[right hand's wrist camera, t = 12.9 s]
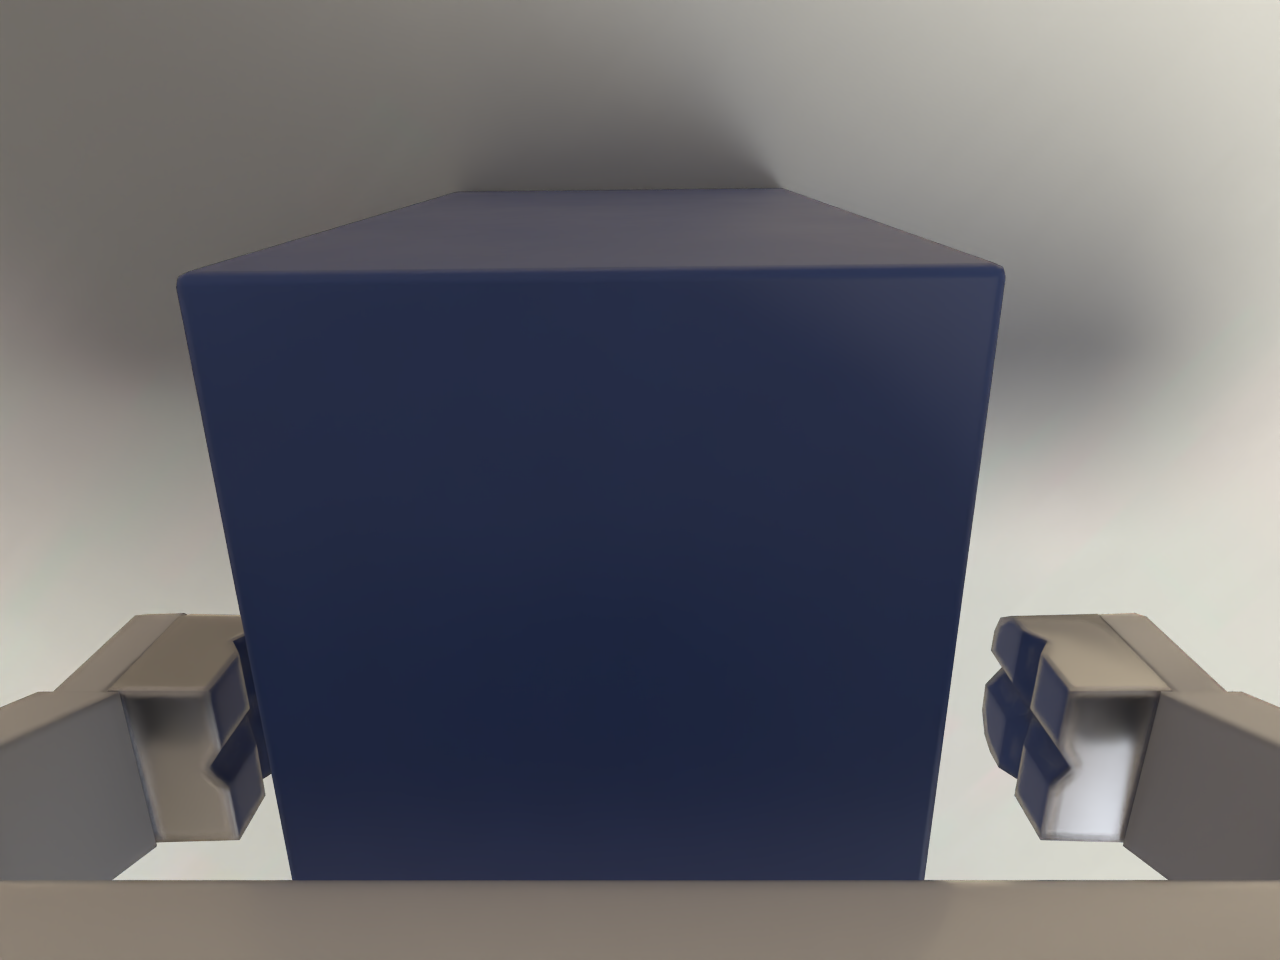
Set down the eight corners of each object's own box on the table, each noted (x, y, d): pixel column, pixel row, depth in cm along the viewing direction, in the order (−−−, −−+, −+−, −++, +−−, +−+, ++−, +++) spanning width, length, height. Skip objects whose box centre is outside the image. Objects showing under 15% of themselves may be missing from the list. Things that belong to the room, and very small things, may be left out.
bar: (452, 191, 15) (167, 272, 6) (786, 187, 15) (1013, 264, 6) (528, 1117, 23) (458, 1740, 14) (743, 1115, 23) (810, 1739, 14)
